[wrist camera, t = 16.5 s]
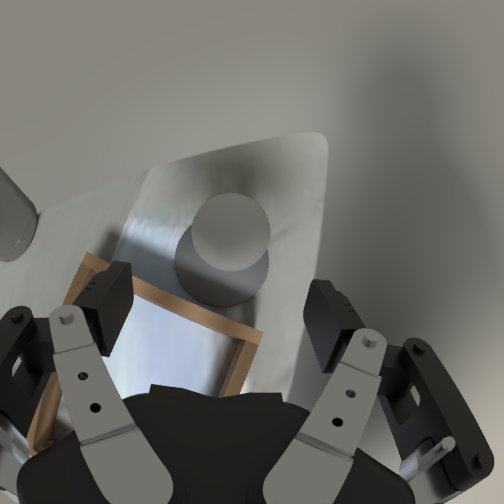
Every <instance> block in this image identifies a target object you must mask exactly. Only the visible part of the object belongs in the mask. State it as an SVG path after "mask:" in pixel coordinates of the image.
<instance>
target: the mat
mask: <svg viewBox="0 0 504 504" xmlns="http://www.w3.org/2000/svg"><path fill="white" fill-rule="evenodd" d="M175 266H176V271H177V275H178V277H179V280H180V282H181V283H182V285H183V287H184V288H185V289H186V290H187V292H188V293H189V294H191V295H192V296H193V297H194V298H196V299H197V300H199V301H201V302H203V303H205V304H208V305H212V306H218V307H228V306H233V305H237V304H240V303H242V302H244V301H246V300H248V299H249V298H251V297H252V296H253V295H254V294H255V293H256V292H257V291H258V290H259V289H260V288H261V286H262V284H263V283H264V281H265V279H266V276H267V273H268V267H269V257H268V252H267V249H266V251H265V252H264V254H263V256H262V257H261V258H260V259H259V260H258V261H257V262H256V263H255V264H253V265H252V266H250V267H248V268H246V269H243V270H238V271H222V270H219V269H216V268H213V267H212V266H210V265H209V264H207V263H206V262H205V261H204V260H203V259H202V258H201V257H200V256H199V254H198V253H197V252H196V250H195V247H194V245H193V241H192V226H191V227H190V228H189V229H188V230H187V231H186V232H185V233H184V235H183V236H182V238H181V239H180V241H179V243H178V246H177V249H176V254H175Z"/></svg>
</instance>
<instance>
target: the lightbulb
mask: <svg viewBox="0 0 504 504" xmlns="http://www.w3.org/2000/svg"><path fill="white" fill-rule="evenodd" d="M269 239H270V224H269V221H268V218H267V215H266V213H265V212H264V210H263V209H262V207H261V206H260V205H259V204H258V203H257V202H256V201H254V200H253V199H251V198H249V197H247V196H245V195H242V194H237V193H224V194H220V195H217V196H214V197H212V198H211V199H209V200H208V201H207V202H205V203H204V204H203V205H202V206H201V207H200V209H199V210H198V211H197V213H196V216H195V218H194V220H193V224H192V241H193V245H194V247H195V250H196V252H197V253H198V254H199V256H200V257H201V258H202V259H203V260H204V261H205V262H206V263H207V264H209V265H210V266H212V267H213V268H216V269H219V270H222V271H238V270H243V269H246V268H248V267H250V266H252V265H253V264H255V263H256V262H257V261H258V260H259V259H260V258H261V257H262V256H263V254H264V252H265V251H266V249H267V247H268V244H269Z"/></svg>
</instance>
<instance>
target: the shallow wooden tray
mask: <svg viewBox="0 0 504 504" xmlns="http://www.w3.org/2000/svg"><path fill="white" fill-rule="evenodd" d="M110 265H111V264H109V263H107V262H105V261H103V260H102V259H100V258H98V257H96V256H94V255H92V254H90V253H88V252H87V253H86V255H85V257H84V259H83V261H82V263H81V265H80V267H79V269H78V271H77V273H76V275H75V277H74V279H73V282H72V284H71V286H70V288H69V291H68V293H67V295H66V297H65V300H64V302H63V305H71V304H72V303H73V302H74V300H75V299H76V298H77V296H78V295H79V294H80V293H81V291H82V290H83V289H84V288H85V286H86V285H87V284H89V281H90V280H91V279H92V277H93V276H94V275H96V274H97V273H99V272H101V271H102V270H103V271H106V270H107V269H108V267H109V266H110ZM132 281H133V291H134V294H135V295H137V296H139V297H141V298H143V299H145V300H147V301H150V302H152V303H154V304H156V305H158V306H160V307H162V308H164V309H166V310H169V311H171V312H173V313H175V314H177V315H179V316H182V317H184V318H186V319H188V320H191V321H193V322H195V323H198V324H200V325H202V326H205V327H207V328H210V329H212V330H214V331H217V332H219V333H222V334H224V335H227V336H229V337H232V338H234V339H237V340H239V343H238V345H237V348H236V350H235V353H234V355H233V358H232V360H231V363H230V365H229V368H228V370H227V373H226V375H225V378H224V380H223V383H222V385H221V388H220V390H219V393H218V395H217V398H220V397H227V396H233V395H239V394H240V391H241V389H242V386H243V384H244V381H245V379H246V376H247V374H248V371H249V369H250V366H251V364H252V361H253V359H254V356H255V353H256V351H257V348H258V346H259V343H260V340H261V338H262V335H263V332H262V331H259V330H256V329H254V328H251V327H249V326H246V325H244V324H241V323H239V322H236V321H234V320H231V319H229V318H226V317H224V316H221V315H219V314H216V313H214V312H212V311H209V310H207V309H205V308H202V307H200V306H198V305H195V304H193V303H191V302H188V301H186V300H184V299H182V298H179V297H177V296H175V295H173V294H171V293H168V292H166V291H164V290H162V289H160V288H158V287H156V286H153V285H151V284H149V283H147V282H145V281H143V280H141V279H139V278H137V277H135V276H133V275H132ZM63 305H62V306H63ZM61 396H62V390H61V386H60V383H59V379H58V375H57V372H52V374H51V376H50V378H49V380H48V383H47V385H46V387H45V390H44V392H43V394H42V397H41V399H40V402H39V404H38V407H37V409H36V412H35V415H34V417H33V420H32V423H31V426H30V429H29V432H28V435H27V438H26V440H27V442H28V445H29V451H30V452H29V455H31V456H34V455H36V454H37V453H39V452H41V451H42V450H44V449H46V448H47V447H49V446H50V445H52V444H54V443H55V442H54V441H53V440H51V436H52V432H53V427H54V423H55V419H56V415H57V411H58V407H59V403H60V399H61Z"/></svg>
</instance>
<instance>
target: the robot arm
mask: <svg viewBox="0 0 504 504" xmlns="http://www.w3.org/2000/svg"><path fill="white" fill-rule="evenodd" d="M36 223H37V212H36V208H35V206H34V204H33V203H32V202H31V201H30V200H29V198H28V197H27V196H26V195H25V194H24V193H23V192H22V191H21V190H20V189H19V187H18V186H17V185H16V184H15V183H14V182H13V181H12V180H11V178H10V177H9V176H8V175H7V174H6V173H5V171H3V169H2V168H1V167H0V260H1V261H4V262H10V261H13V260H15V259H16V258H18V257H19V256H20V255H21V254H23V252H24V251H25V250H26V249H27V247H28V245H29V244H30V242H31V240H32V238H33V235H34V232H35V229H36ZM133 300H134V291H133V281H132V269H131V264H130V263H129V262H120V261H113V262H112V263H111V265H110V266H109V267H108V269H107V270H106V271H103V270H102V271H101V272H99V273H97V274H96V275H94V276H93V277H92V279H91V280H90V281H89V284H87V285H86V286H85V288H84V289H83V290H82V291H81V293H80V294H79V295H78V296H77V298H76V299H75V300H74V302H73V303H72V304H71V305H63V306H60V307H58V308H56V309H55V310H53V312H52V313H51V314H50V316H49V318H34V317H33V314H32V311H31V309H30V308H28V307H26V306H17V307H14V308H12V309H10V310H9V311H8V312H7V313H6V314H5V315H4V316H3V317H2V319H1V320H0V490H3V491H6V490H7V491H9V492H10V493H12V494H14V495H16V496H17V497H18V499H19V503H20V504H444V503H446V502H448V501H449V500H451V499H453V498H455V497H456V496H458V495H460V494H461V493H463V492H465V491H466V490H468V489H469V488H471V487H473V486H474V485H475V484H477V483H479V482H480V481H482V480H483V479H484V478H486V477H487V476H489V474H490V473H491V472H492V470H493V467H494V456H493V453H492V451H491V449H490V447H489V445H488V443H487V441H486V439H485V437H484V435H483V433H482V431H481V429H480V427H479V425H478V423H477V421H476V420H475V418H474V416H473V414H472V412H471V411H470V409H469V407H468V405H467V403H466V402H465V400H464V398H463V397H462V395H461V393H460V391H459V390H458V388H457V387H456V385H455V383H454V382H453V380H452V378H451V377H450V375H449V374H448V372H447V370H446V369H445V367H444V366H443V364H442V363H441V362H440V360H439V358H438V357H437V355H436V354H435V352H434V351H433V349H432V348H431V346H430V345H429V344H428V343H426V342H425V341H423V340H421V339H419V338H408V339H407V340H406V341H405V343H404V345H403V346H402V347H399V346H393V345H388V344H387V342H386V340H385V338H384V337H383V336H382V335H381V334H379V333H378V332H376V331H374V330H371V329H366V327H365V326H364V324H363V322H362V320H361V319H360V317H359V316H358V314H357V312H355V309H354V308H353V306H351V303H350V301H349V300H348V298H347V297H346V296H344V295H343V294H342V293H341V292H339V291H336V290H335V288H334V286H333V285H332V283H331V282H330V281H329V280H319V279H313V280H312V282H311V284H310V288H309V291H308V295H307V299H306V302H305V306H304V311H303V319H304V323H305V326H306V328H307V331H308V334H309V337H310V339H311V342H312V345H313V348H314V351H315V353H316V356H317V359H318V362H319V365H320V367H321V370H322V373H333V375H332V377H331V379H330V381H329V382H328V384H327V386H326V388H325V390H324V391H323V393H322V395H321V397H320V398H319V400H318V402H317V403H316V405H315V407H314V408H313V410H312V412H309V411H308V410H306V409H304V408H302V407H299V406H297V405H294V404H291V403H287V402H283V399H282V394H281V393H245V394H239V395H233V396H227V397H220V398H215V397H210V396H207V395H203V394H200V393H197V392H193V391H190V390H187V389H184V388H177V387H169V386H162V385H155V384H151V387H150V391H149V393H143V394H137V395H133V396H129V397H127V398H124V399H121V397H120V395H119V393H118V391H117V389H116V387H115V385H114V383H113V381H112V379H111V377H110V375H109V373H108V371H107V368H106V366H105V364H104V362H103V359H102V357H101V356H105V357H109V356H110V354H111V352H112V349H113V347H114V345H115V342H116V340H117V338H118V336H119V333H120V331H121V329H122V327H123V325H124V323H125V320H126V318H127V316H128V314H129V312H130V310H131V308H132V305H133ZM18 357H20V359H21V363H20V365H19V367H18V369H17V370H16V372H15V374H14V376H13V377H12V368H13V365H14V364H15V362H16V360H17V358H18ZM52 372H57V375H58V379H59V383H60V386H61V390H62V393H63V397H64V400H65V403H66V406H67V409H68V412H69V415H70V418H71V421H72V424H73V426H74V429H75V430H74V431H73V432H71V433H70V434H68V435H66V436H65V437H63V438H62V439H60V440H58V441H57V442H55V443H54V444H52V445H50V446H49V447H47V448H46V449H44V450H42V451H41V452H39V453H37V454H36V455H34V456H32V457H30V455H29V452H30V451H29V445H28V442H27V440H26V438H27V435H28V432H29V429H30V426H31V423H32V420H33V417H34V415H35V412H36V409H37V407H38V404H39V402H40V399H41V397H42V394H43V392H44V390H45V387H46V385H47V383H48V380H49V378H50V376H51V374H52ZM413 385H415V387H416V389H417V391H418V393H419V395H420V404H419V406H417V404H416V402H415V400H414V398H413V396H412V393H411V392H410V389H411V388H412V387H413ZM376 395H378V398H379V401H380V403H381V405H382V408H383V411H384V413H385V416H386V418H387V421H388V424H389V427H390V429H391V432H392V435H393V437H394V440H395V443H396V446H397V449H398V451H399V454H400V457H401V460H402V462H401V464H400V467H399V475H398V474H396V473H395V472H393V471H392V470H390V469H389V468H387V467H385V466H384V465H382V464H381V463H379V462H378V461H376V460H375V459H374V458H372V457H371V456H369V455H368V454H366V453H365V452H363V451H362V450H361V449H359V448H358V447H357V446H358V443H359V441H360V439H361V436H362V434H363V431H364V429H365V426H366V423H367V421H368V418H369V415H370V412H371V409H372V407H373V404H374V400H375V397H376Z"/></svg>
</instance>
